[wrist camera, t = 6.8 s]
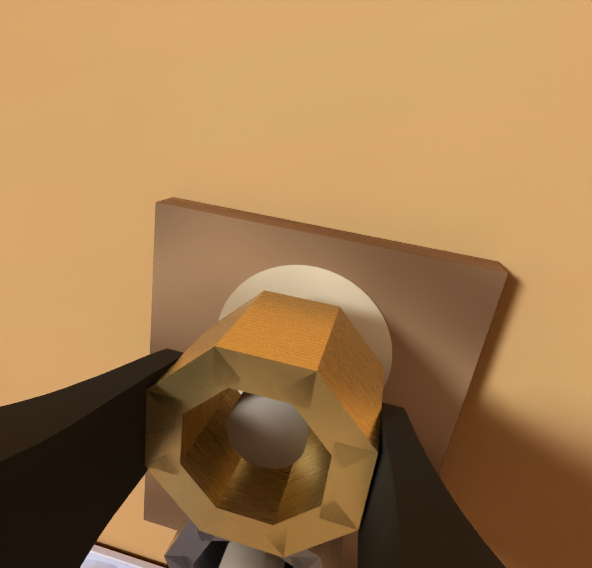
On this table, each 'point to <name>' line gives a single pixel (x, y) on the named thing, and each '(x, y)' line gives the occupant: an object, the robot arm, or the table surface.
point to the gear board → (331, 290)
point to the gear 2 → (210, 549)
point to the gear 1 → (279, 386)
